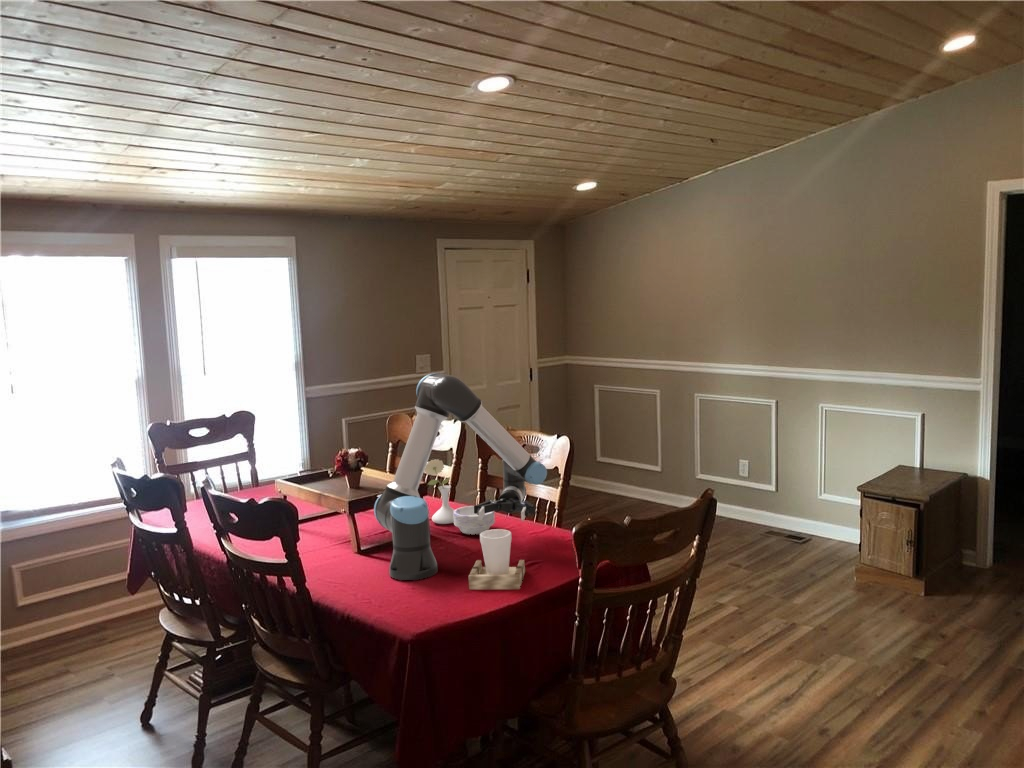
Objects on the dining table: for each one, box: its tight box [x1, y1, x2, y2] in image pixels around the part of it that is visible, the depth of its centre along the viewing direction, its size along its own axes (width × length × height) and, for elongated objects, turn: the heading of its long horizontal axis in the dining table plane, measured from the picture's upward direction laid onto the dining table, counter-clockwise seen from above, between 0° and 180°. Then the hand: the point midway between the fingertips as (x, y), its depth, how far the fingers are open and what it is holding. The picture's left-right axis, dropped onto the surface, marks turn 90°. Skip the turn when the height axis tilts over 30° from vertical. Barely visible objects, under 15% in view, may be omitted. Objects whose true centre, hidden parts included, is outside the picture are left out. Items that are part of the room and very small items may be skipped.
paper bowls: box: [453, 505, 496, 536], centre depth 294 cm, size 15×15×8 cm
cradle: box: [467, 559, 526, 590], centre depth 242 cm, size 16×15×4 cm
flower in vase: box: [424, 458, 455, 525], centre depth 307 cm, size 13×11×25 cm
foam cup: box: [479, 528, 513, 574], centre depth 241 cm, size 10×9×13 cm
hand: (500, 516), depth 252 cm, fingers open, 13 cm apart
